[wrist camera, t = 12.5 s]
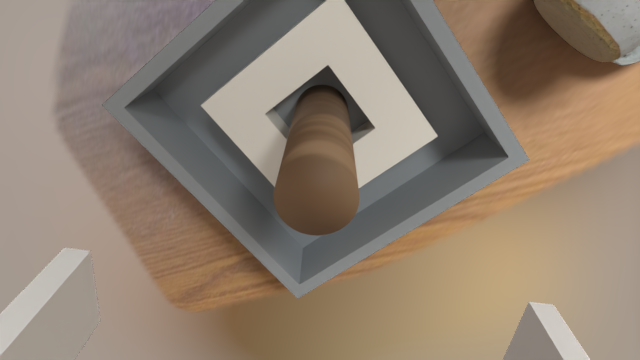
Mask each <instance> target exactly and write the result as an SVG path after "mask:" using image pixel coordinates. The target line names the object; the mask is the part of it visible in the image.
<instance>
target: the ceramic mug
mask: <svg viewBox="0 0 640 360" xmlns="http://www.w3.org/2000/svg"><path fill="white" fill-rule="evenodd" d="M534 4H535V7H536V8H537V10H538V12H539V13H540V14H541V16H542V17H543V18H544V20H545V21H546V22H547V23H548V24H549V25H550V27H551V28H552V29H553V30H554V31H555V32H556V33H557V34H559V35H560V36H561V37H562V38H563V39H564V40H565V41H566V42H567V43H569V44H570V45H571V46H572V47H573V48H575V49H576V50H577V51H579V52H580V53H582V54H583V55H585V56H587V57H589V58H590V59H593V60H596V61H599V62H613V63H616V64H618V65H629V64H633V63H636V62H638V61H640V0H534Z"/></svg>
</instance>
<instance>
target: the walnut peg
mask: <svg viewBox="0 0 640 360" xmlns="http://www.w3.org/2000/svg"><path fill="white" fill-rule="evenodd" d="M273 199H274V205H275V209H276V211H277V213H278V215H279V216H280V218H281V219H282V220H283V222H284V223H286V224H287V225H288V226H289V227H291V228H292V229H294V230H296V231H298V232H300V233H303V234H307V235H316V236H318V235H327V234H331V233H334V232H336V231H338V230H340V229H342V228H343V227H345V226H346V225H347V224H348V223H349V222H350V221H351V220H352V219H353V218H354V216H355V214H356V212H357V210H358V206H359V200H360V198H359V188H358V180H357V173H356V165H355V157H354V150H353V142H352V135H351V127H350V119H349V112H348V105H347V102H346V99H345V97H344V96H343V95H342V93H341V92H340V91H339V90H337V89H336V88H334V87H332V86H329V85H315V86H312V87H310V88H308V89H306V90H305V91H304V92H303V93H302V94H301V95H300V97H299V98H298V100H297V103H296V107H295V111H294V115H293V119H292V123H291V127H290V130H289V134H288V138H287V142H286V146H285V150H284V154H283V158H282V161H281V165H280V169H279V173H278V177H277V181H276V185H275V189H274V196H273Z"/></svg>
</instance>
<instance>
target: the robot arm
mask: <svg viewBox="0 0 640 360" xmlns="http://www.w3.org/2000/svg"><path fill="white" fill-rule="evenodd" d="M99 322H100V314H99V307H98V299H97V292H96V285H95V277H94V271H93V264H92V256H91V251H88V250H80V249H71V248H63V250H62V251H61V252H60V253H59V254H58V255H57V256H56V257H55V258H54V259H53V260H52V261H51V262H50V263H49V264H48V265H47V266H46V267H45V268H44V269H43V270H42V271H41V272H40V273H39V274H38V275H37V276H36V277H35V278H34V280H32V282H31V283H30V284H29V285H28V286H27V287H26V288H25V289H24V290H23V291H22V292H21V293H20V294H19V295H18V296H17V297H16V298H15V299H14V300H13V301H12V302H11V303H10V304H9V305H8V306H7V307H6V308H5V309H4V311H2V313H1V314H0V360H75V359H76V357H77V356H78V354H79V353H80V351H81V349H82V348H83V347H84V345H85V344H86V342H87V341H88V339H89V337H90V336H91V334H92V333H93V331H94V330H95V328H96V327H97V325H98V324H99ZM503 360H590V359H589V357H588V356H587V354H586V353H585V351H584V350H583V348H582V347H581V345H580V344H579V342H578V341H577V339H576V338H575V336H574V335H573V333H572V332H571V330H570V329H569V327H568V326H567V324H566V323H565V321H564V320H563V318H562V317H561V315H560V314H559V312H558V311H557V309H556V308H555V306H554V305H552V304H543V303H535V302H529V303H528V305H527V307H526V309H525V312H524V314H523V316H522V318H521V320H520V323H519V325H518V327H517V329H516V331H515V334H514V336H513V338H512V340H511V343H510V345H509V347H508V349H507V352H506V354H505V356H504V358H503Z"/></svg>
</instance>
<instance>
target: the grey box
mask: <svg viewBox="0 0 640 360" xmlns="http://www.w3.org/2000/svg"><path fill="white" fill-rule="evenodd" d="M315 85H329V86H332V87H334V88H336V89H337V90H339V91H340V92H341V93H342V95H343V96H344V97H345V99H346V102H347V105H348V112H349V119H350V127H351V135H352V142H353V150H354V157H355V165H356V173H357V180H358V188H359V198H360V200H359V206H358V210H357V212H356V214H355V216H354V218H353V219H352V220H351V221H350V222H349V223H348V224H347V225H346V226H345V227H343V228H342V229H340V230H338V231H336V232H334V233H331V234H327V235H318V236H316V235H307V234H303V233H300V232H298V231H296V230H294V229H292V228H291V227H289V226H288V225H287V224H286V223H284V222H283V220H282V219H281V218H280V216H279V215H278V213H277V211H276V209H275V205H274V199H273V196H274V189H275V185H276V181H277V177H278V173H279V169H280V165H281V161H282V158H283V154H284V150H285V146H286V142H287V138H288V134H289V130H290V127H291V123H292V119H293V115H294V111H295V107H296V103H297V100H298V98H299V97H300V95H301V94H302V93H303V92H304V91H305V90H306V89H308V88H310V87H312V86H315ZM102 106H103V107H104V108H105V109H106V110H107V111H108V112H109V113H110V114H111V115H112V116H113V117H114V118H115V119H116V120H117V121H118V122H120V123H121V124H122V125H123V126H124V127H125V128H126V129H127V130H128V131H129V132H130V133H131V134H132V135H133V136H134V137H135V138H136V139H137V140H138V141H139V142H140V143H141V144H142V145H143V146H144V147H145V148H146V149H147V150H148V151H149V152H150V153H151V154H152V155H153V156H154V157H155V158H156V159H157V160H158V161H159V162H160V163H161V164H162V165H163V166H164V167H165V168H166V169H167V170H168V171H169V172H170V173H171V174H172V175H173V176H174V177H175V178H176V179H177V180H178V181H179V182H180V183H181V184H182V185H183V186H184V187H185V188H186V189H187V190H188V191H189V192H190V193H191V194H192V195H193V196H194V197H195V198H196V199H197V200H198V201H199V202H200V203H201V204H202V205H203V206H204V207H205V208H206V209H207V210H208V211H209V212H210V213H211V214H212V215H213V216H214V217H215V218H216V219H217V220H218V221H219V222H220V223H222V224H223V225H224V226H225V227H226V228H227V229H228V230H229V231H230V232H231V233H232V234H233V235H234V236H235V237H236V238H237V239H238V240H239V241H240V242H241V243H242V244H243V245H244V246H245V247H246V248H247V249H248V250H249V251H250V252H251V253H252V254H253V255H254V256H255V257H256V258H257V259H258V260H259V261H260V262H261V263H262V264H263V265H264V266H265V267H266V268H267V269H268V270H269V271H270V272H271V273H272V274H273V275H274V276H275V277H276V278H277V279H278V280H279V281H280V282H281V283H282V284H283V285H284V286H285V287H286V288H287V289H288V290H289V291H290V292H291V293H292V294H293V295H294V296H295V297H296V298H299V297H301V296H303V295H304V294H306V293H308V292H309V291H311V290H313V289H314V288H316V287H318V286H319V285H321V284H323V283H324V282H326V281H328V280H329V279H331V278H333V277H335V276H336V275H338V274H340V273H341V272H343V271H345V270H346V269H348V268H350V267H351V266H353V265H355V264H356V263H358V262H360V261H361V260H363V259H365V258H366V257H368V256H370V255H371V254H373V253H375V252H376V251H378V250H380V249H381V248H383V247H385V246H386V245H388V244H390V243H391V242H393V241H395V240H397V239H398V238H400V237H402V236H403V235H405V234H407V233H408V232H410V231H412V230H413V229H415V228H417V227H418V226H420V225H422V224H423V223H425V222H427V221H428V220H430V219H432V218H433V217H435V216H437V215H438V214H440V213H442V212H443V211H445V210H447V209H448V208H450V207H452V206H453V205H455V204H457V203H458V202H460V201H462V200H464V199H465V198H467V197H469V196H470V195H472V194H474V193H475V192H477V191H479V190H480V189H482V188H484V187H485V186H487V185H489V184H490V183H492V182H494V181H495V180H497V179H499V178H500V177H502V176H504V175H505V174H507V173H509V172H510V171H512V170H514V169H515V168H517V167H519V166H520V165H522V164H524V163H526V162H527V161H529V158H528V156H527V155H526V153H525V151H524V150H523V148H522V146H521V145H520V143H519V142H518V140H517V138H516V137H515V135H514V133H513V132H512V130H511V128H510V127H509V125H508V123H507V122H506V120H505V118H504V117H503V115H502V114H501V112H500V110H499V109H498V107H497V105H496V104H495V102H494V100H493V99H492V97H491V95H490V94H489V92H488V91H487V89H486V87H485V86H484V84H483V82H482V81H481V79H480V77H479V76H478V74H477V72H476V71H475V69H474V67H473V66H472V64H471V63H470V61H469V59H468V58H467V56H466V54H465V53H464V51H463V49H462V48H461V46H460V44H459V43H458V41H457V40H456V38H455V36H454V35H453V33H452V31H451V30H450V28H449V26H448V25H447V23H446V21H445V20H444V18H443V16H442V15H441V13H440V12H439V10H438V8H437V7H436V5H435V3H434V2H433V0H215V1H214V2H213V3H212V4H211V5H210V6H209V7H208V8H207V9H206V10H205V11H203V12H202V13H201V14H200V15H199V16H198V17H197V18H196V19H195V20H194V21H193V22H191V23H190V24H189V25H188V26H187V27H186V28H185V29H184V30H183V31H182V32H181V33H180V34H178V35H177V36H176V37H175V38H174V39H173V40H172V41H171V42H170V43H169V44H168V45H166V46H165V47H164V48H163V49H162V50H161V51H160V52H159V53H158V54H157V55H156V56H155V57H153V58H152V59H151V60H150V61H149V62H148V63H147V64H146V65H145V66H144V67H143V68H141V69H140V70H139V71H138V72H137V73H136V74H135V75H134V76H133V77H132V78H131V79H130V80H128V81H127V82H126V83H125V84H124V85H123V86H122V87H121V88H120V89H119V90H118V91H116V92H115V93H114V94H113V95H112V96H111V97H110V98H109V99H108V100H107V101H106V102H105V103H103V104H102Z"/></svg>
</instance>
